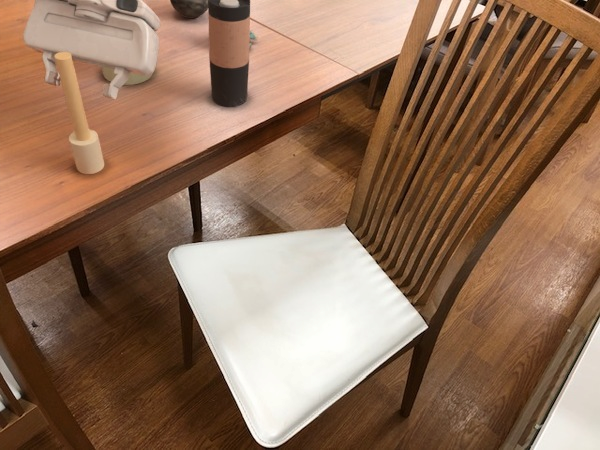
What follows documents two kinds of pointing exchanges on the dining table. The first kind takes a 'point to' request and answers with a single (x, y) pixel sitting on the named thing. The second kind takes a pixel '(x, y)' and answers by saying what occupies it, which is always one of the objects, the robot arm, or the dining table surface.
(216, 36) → the travel mug
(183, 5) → the decorative stone
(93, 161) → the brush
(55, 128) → the dining table surface
